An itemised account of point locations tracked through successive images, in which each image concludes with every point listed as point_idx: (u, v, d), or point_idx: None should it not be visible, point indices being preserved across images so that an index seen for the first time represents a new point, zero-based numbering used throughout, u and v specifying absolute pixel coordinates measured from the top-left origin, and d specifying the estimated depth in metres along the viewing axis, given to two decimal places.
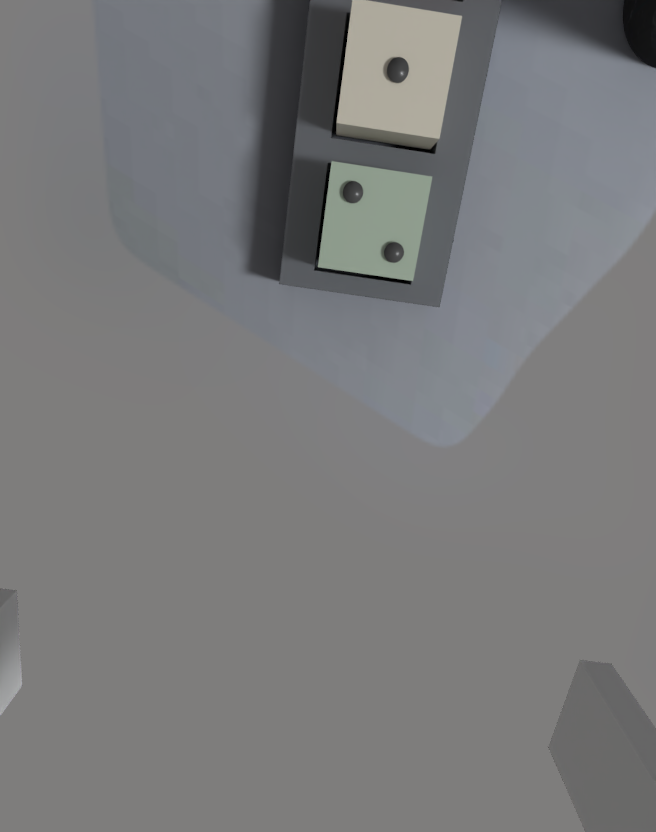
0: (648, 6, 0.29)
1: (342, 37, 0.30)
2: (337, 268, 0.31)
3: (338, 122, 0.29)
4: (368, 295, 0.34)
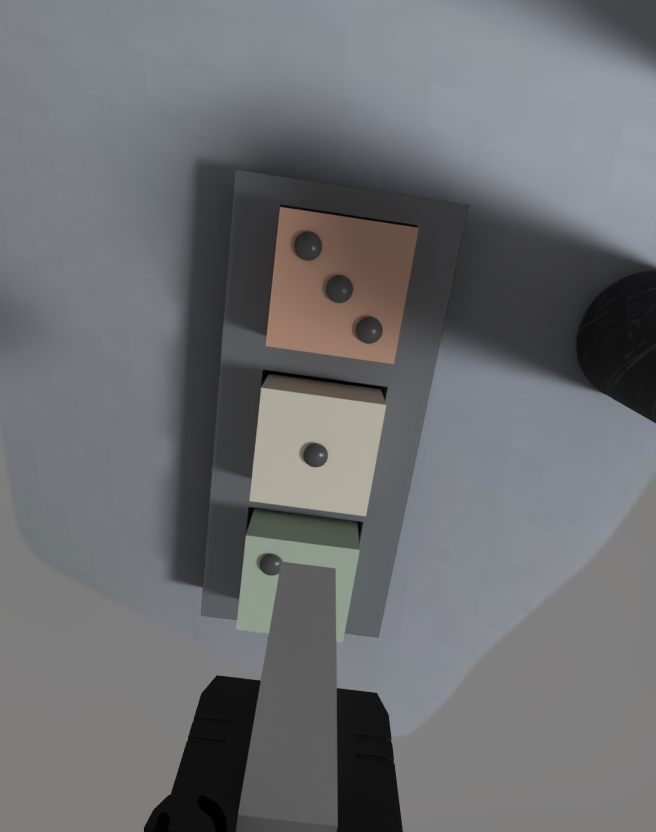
0: (600, 369, 0.26)
1: (259, 392, 0.26)
2: (258, 631, 0.28)
3: (251, 500, 0.26)
4: None
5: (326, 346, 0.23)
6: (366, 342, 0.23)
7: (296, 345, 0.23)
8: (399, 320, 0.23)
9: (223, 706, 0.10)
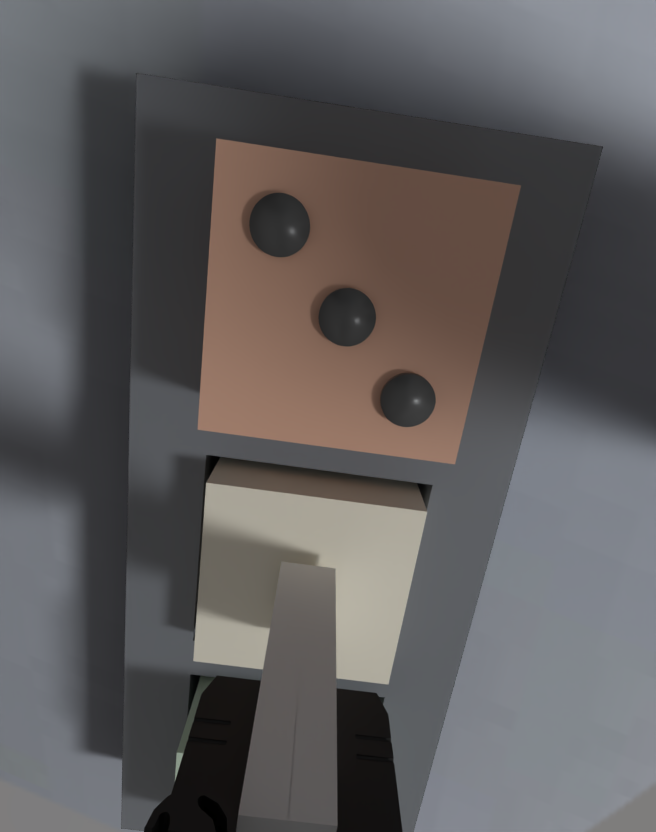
0: None
1: (201, 494, 0.15)
2: None
3: (196, 660, 0.15)
4: None
5: (320, 431, 0.11)
6: (400, 424, 0.11)
7: (259, 428, 0.11)
8: (470, 380, 0.11)
9: (223, 706, 0.10)
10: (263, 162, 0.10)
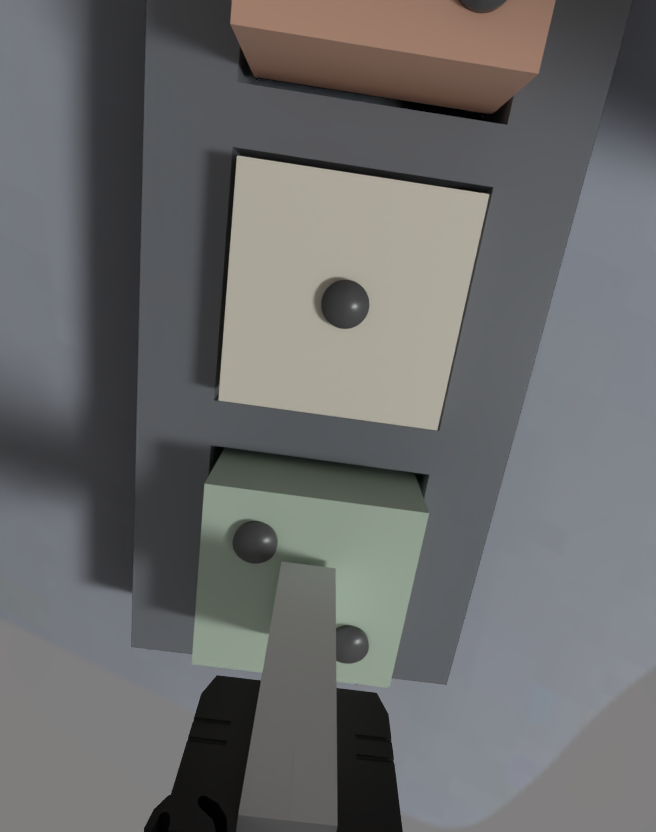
0: None
1: (226, 201, 0.13)
2: (232, 667, 0.15)
3: (222, 400, 0.14)
4: None
5: (378, 25, 0.10)
6: (476, 10, 0.09)
7: (305, 22, 0.10)
8: None
9: (223, 706, 0.10)
10: None
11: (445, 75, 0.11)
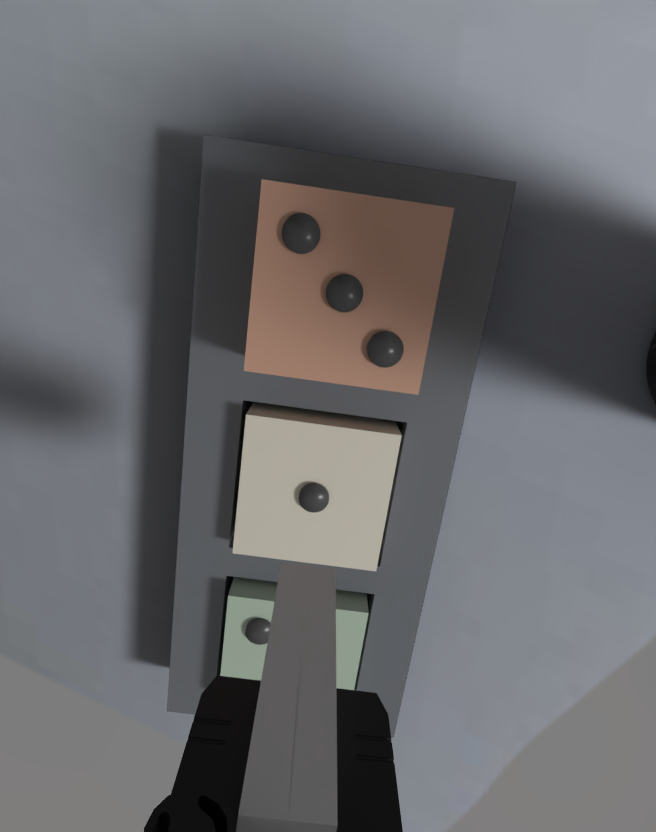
0: None
1: (238, 430, 0.20)
2: None
3: (235, 553, 0.21)
4: None
5: (326, 371, 0.17)
6: (380, 366, 0.17)
7: (285, 370, 0.17)
8: (426, 335, 0.17)
9: (223, 706, 0.10)
10: (291, 194, 0.15)
11: None
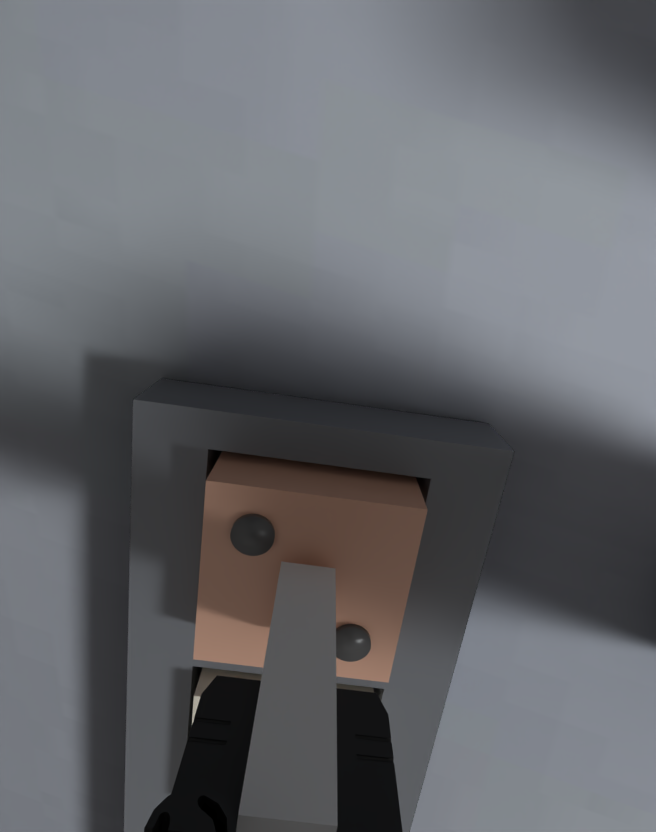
0: None
1: (188, 694, 0.17)
2: None
3: None
4: None
5: None
6: (346, 658, 0.15)
7: (240, 658, 0.15)
8: (396, 629, 0.15)
9: (223, 706, 0.10)
10: (240, 495, 0.13)
11: None
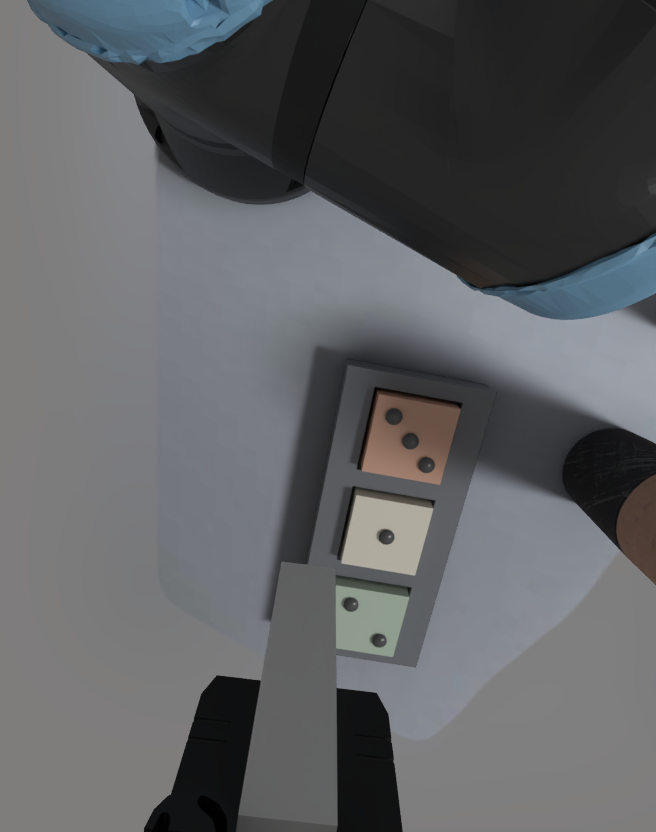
0: (577, 496, 0.39)
1: (348, 500, 0.39)
2: (337, 647, 0.42)
3: (342, 563, 0.40)
4: (360, 657, 0.43)
5: (399, 473, 0.37)
6: (424, 472, 0.37)
7: (380, 471, 0.37)
8: (445, 460, 0.37)
9: (223, 706, 0.10)
10: (391, 400, 0.36)
11: None
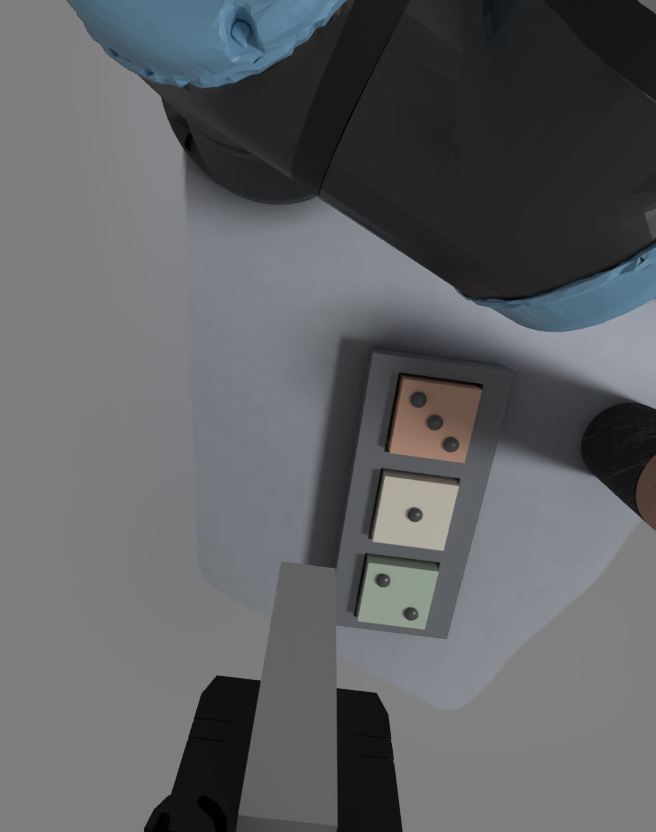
0: (596, 469, 0.40)
1: (377, 481, 0.41)
2: (371, 622, 0.44)
3: (374, 541, 0.42)
4: (393, 631, 0.46)
5: (425, 453, 0.39)
6: (448, 451, 0.39)
7: (407, 452, 0.39)
8: (468, 439, 0.39)
9: (223, 706, 0.10)
10: (415, 384, 0.38)
11: None
